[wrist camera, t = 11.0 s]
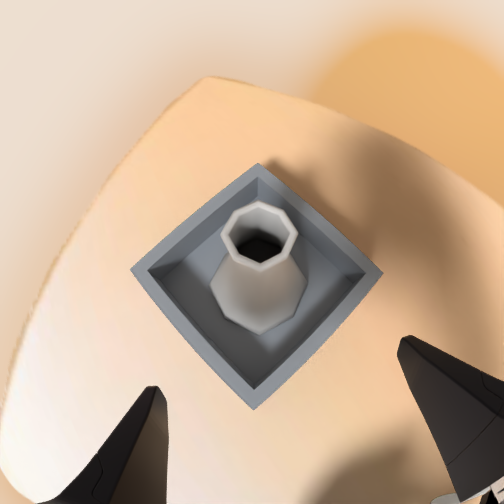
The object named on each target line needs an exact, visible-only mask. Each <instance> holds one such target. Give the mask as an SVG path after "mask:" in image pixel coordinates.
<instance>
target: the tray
mask: <svg viewBox="0 0 504 504" xmlns="http://www.w3.org/2000/svg"><path fill="white" fill-rule="evenodd" d="M256 200H261V201H263V202H266V203H268V204H271V205H273V206H276V207H278V208H281V209H283V210H284V211H285V212H286V214H287V216H288V217H289V219H290V220H291V222H292V223H293V225H294V226H295V228H296V230H297V231H298V235H297V238H296V240H295V242H294V244H293V247H292V249H291V251H290V254H291V255H292V257H293V259H294V260H295V262H296V264H297V265H298V267H299V269H300V270H301V272H302V274H303V275H304V277H305V279H306V280H307V282H308V285H307V288H306V290H305V292H304V295H303V297H302V299H301V302H300V304H299V306H298V308H297V311H296V313H295V315H294V317H293V318H291V319H289V320H288V321H286V322H284V323H282V324H280V325H278V326H277V327H275V328H273V329H271V330H269V331H267V332H265V333H263V334H261V335H258V334H255V333H253V332H251V331H249V330H247V329H245V328H243V327H241V326H238V325H236V324H234V323H232V322H230V321H228V320H226V319H225V318H224V316H223V314H222V312H221V310H220V308H219V306H218V304H217V302H216V300H215V298H214V296H213V294H212V292H211V290H210V288H209V284H210V282H211V280H212V278H213V276H214V274H215V272H216V270H217V269H218V267H219V265H220V263H221V261H222V259H223V257H224V255H225V254H226V253H227V252H228V249H227V247H226V246H225V244H224V242H223V240H222V238H221V235H220V234H221V232H222V230H223V229H224V227H225V225H226V223H227V221H228V220H229V218H230V216H231V214H232V213H233V211H234V210H237V209H239V208H241V207H243V206H245V205H247V204H249V203H252V202H254V201H256ZM130 270H131V272H132V273H133V275H134V276H135V277H136V279H137V280H138V281H139V283H140V284H141V285H142V287H143V288H144V289H145V291H146V292H147V293H148V295H149V296H150V297H151V298H152V300H153V301H154V302H155V304H156V305H157V306H158V307H159V309H160V310H161V311H162V312H163V314H164V315H165V316H166V317H167V318H168V320H169V321H170V322H171V323H172V324H173V326H174V327H175V328H176V329H177V330H178V332H179V333H180V334H181V335H182V336H183V337H184V339H185V340H186V341H187V342H188V343H189V344H190V345H191V347H192V348H193V349H194V350H195V351H196V352H197V353H198V354H199V356H200V357H201V358H202V359H203V360H204V361H205V362H206V363H207V364H208V365H209V366H210V367H211V369H212V370H213V371H214V372H215V373H216V374H217V375H218V376H219V377H220V378H221V379H222V380H223V381H224V382H225V383H226V384H227V385H228V386H229V387H230V388H231V389H232V390H233V391H234V392H235V393H236V394H237V395H238V396H239V397H240V398H241V399H242V400H243V401H244V402H245V403H246V404H247V405H248V406H249V407H250V408H251V409H252V410H255V409H256V408H257V407H258V406H259V405H261V404H262V403H263V402H264V401H265V400H266V399H267V398H268V397H270V396H271V395H272V394H273V393H274V392H275V391H276V390H277V389H278V388H279V387H280V386H282V385H283V384H284V383H285V382H286V381H287V380H288V379H289V378H290V377H291V376H292V375H293V374H294V373H295V372H296V371H297V370H298V369H299V368H300V367H301V366H302V365H303V364H304V363H305V362H306V361H307V360H308V359H309V358H310V357H311V356H312V355H313V354H314V353H315V352H316V351H317V350H318V349H319V348H320V347H321V346H322V345H323V344H324V343H325V341H326V340H327V339H328V338H329V337H330V336H331V335H332V334H333V333H334V332H335V331H336V329H337V328H338V327H339V326H340V325H341V324H342V323H343V322H344V320H345V319H346V318H347V317H348V316H349V315H350V314H351V312H352V311H353V310H354V309H355V308H356V307H357V305H358V304H359V303H360V302H361V301H362V299H363V298H364V297H365V296H366V294H367V293H368V292H369V291H370V290H371V288H372V287H373V286H374V284H375V283H376V282H377V281H378V279H379V278H380V277H381V276H382V274H383V272H382V271H381V270H380V269H379V268H378V267H377V266H376V265H375V264H374V263H373V262H372V261H371V260H370V259H369V258H368V257H366V256H365V255H364V254H363V253H362V252H361V251H360V250H359V249H358V248H357V247H356V246H355V245H354V244H353V243H352V242H351V241H349V240H348V239H347V238H346V237H345V236H344V235H343V234H342V233H341V232H340V231H339V230H337V229H336V228H335V227H334V226H333V225H332V224H331V223H330V222H329V221H327V220H326V219H325V218H324V217H323V216H322V215H321V214H319V213H318V212H317V211H316V210H315V209H314V208H313V207H311V206H310V205H309V204H308V203H307V202H306V201H304V200H303V199H302V198H301V197H300V196H298V195H297V194H296V193H295V192H294V191H292V190H291V189H290V188H289V187H288V186H286V185H285V184H284V183H283V182H282V181H280V180H279V179H278V178H277V177H275V176H274V175H273V174H272V173H270V172H269V171H268V170H267V169H265V168H264V167H263V166H262V165H260V164H259V163H257V164H255V165H254V166H253V167H251V168H250V169H249V170H248V171H246V172H245V173H244V174H242V175H241V176H240V177H238V178H237V179H236V180H234V181H233V182H232V183H231V184H229V185H228V186H227V187H226V188H224V189H223V190H222V191H220V192H219V193H218V194H217V195H215V196H214V197H213V198H212V199H211V200H209V201H208V202H207V203H206V204H204V205H203V206H202V207H201V208H199V209H198V210H197V211H196V212H195V213H193V214H192V215H191V216H190V217H189V218H187V219H186V220H185V221H184V222H183V223H182V224H180V225H179V226H178V227H177V228H176V229H175V230H173V231H172V232H171V233H170V234H169V235H168V236H166V237H165V238H164V239H163V240H162V241H161V242H160V243H158V244H157V245H156V246H155V247H154V248H153V249H152V250H151V251H149V252H148V253H147V254H146V255H145V256H144V257H143V258H142V259H141V260H140V261H138V262H137V263H136V264H135V265H134V266H133V267H132V268H131V269H130Z"/></svg>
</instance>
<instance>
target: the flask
mask: <svg viewBox="0 0 504 504" xmlns="http://www.w3.org/2000/svg"><path fill="white" fill-rule="evenodd" d="M220 235H221V238H222V240H223V242H224V244H225V246H226V247H227V249H228V252H227V253H226V254H225V255H224V257H223V259H222V261H221V263H220V265H219V267H218V269H217V270H216V272H215V274H214V276H213V278H212V280H211V282H210V284H209V288H210V290H211V292H212V294H213V296H214V298H215V300H216V302H217V304H218V306H219V308H220V310H221V312H222V314H223V316H224V318H225V319H226V320H228V321H230V322H232V323H234V324H236V325H238V326H241V327H243V328H245V329H247V330H249V331H251V332H253V333H255V334H258V335H261V334H263V333H265V332H267V331H269V330H271V329H273V328H275V327H277V326H278V325H280V324H282V323H284V322H286V321H288V320H289V319H291V318H293V317H294V315H295V313H296V311H297V308H298V306H299V304H300V302H301V299H302V297H303V295H304V292H305V290H306V288H307V285H308V282H307V280H306V279H305V277H304V275H303V274H302V272H301V270H300V269H299V267H298V265H297V264H296V262H295V260H294V259H293V257H292V255H291V254H290V251H291V249H292V247H293V244H294V242H295V240H296V238H297V235H298V231H297V230H296V228H295V226H294V225H293V223H292V222H291V220H290V219H289V217H288V216H287V214H286V212H285V211H284V210H283V209H281V208H278V207H276V206H273V205H271V204H268V203H266V202H263V201H261V200H256V201H254V202H252V203H249V204H247V205H245V206H243V207H241V208H239V209H237V210H234V211H233V213H232V214H231V216H230V218H229V220H228V221H227V223H226V225H225V227H224V229H223V230H222V232H221V234H220Z"/></svg>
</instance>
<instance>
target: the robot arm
mask: <svg viewBox="0 0 504 504" xmlns="http://www.w3.org/2000/svg"><path fill="white" fill-rule="evenodd" d="M397 357H398V360H399V363H400V365H401V368H402V370H403V373H404V375H405V378H406V381H407V383H408V386H409V388H410V390H411V392H412V394H413V396H414V398H415V400H416V402H417V404H418V406H419V408H420V410H421V412H422V414H423V417H424V419H425V421H426V423H427V425H428V427H429V429H430V431H431V433H432V436H433V438H434V440H435V442H436V444H437V447H438V449H439V451H440V454H441V456H442V458H443V461H444V463H445V465H446V468H447V471H448V473H449V475H450V478H451V481H452V483H453V486H454V488H455V491H456V494H457V496H458V499H459V501H460V503H461V502H463V501H465V500H467V499H469V498H470V497H472V496H474V495H476V494H477V493H479V492H481V491H482V490H484V489H485V488H487V487H489V486H490V488H491V489H490V490H489V491H487V492H486V493H485V494H484V495H482V498H481V501H480V504H504V381H502V380H499V379H497V378H495V377H493V376H491V375H489V374H487V373H485V372H483V371H480V370H479V369H477V368H475V367H473V366H471V365H469V364H467V363H465V362H463V361H461V360H459V359H457V358H455V357H453V356H451V355H449V354H448V353H446V352H444V351H442V350H440V349H438V348H436V347H434V346H432V345H430V344H428V343H426V342H424V341H422V340H420V339H418V338H416V337H415V336H412V335H408V336H405V337H403V338H402V339H401V340H400V344H399V348H398V351H397ZM168 445H169V433H168V414H167V401H166V398H165V397H164V395H163V393H162V392H161V390H160V388H159V387H158V386H148V387H146V388H145V389H144V391H143V392H142V393H141V395H140V396H139V397H138V399H137V400H136V401H135V403H134V404H133V405H132V407H131V408H130V409H129V411H128V412H127V413H126V414H125V416H124V417H123V418H122V420H121V421H120V422H119V424H118V425H117V426H116V428H115V429H114V430H113V432H112V433H111V434H110V436H109V437H108V438H107V440H106V441H105V442H104V444H103V445H102V446H101V448H100V449H99V450H98V452H97V453H98V454H97V453H96V454H95V455H94V457H93V458H92V459H91V461H90V462H89V463H88V464H87V466H86V467H85V468H84V469H83V470H82V471H81V473H80V474H79V475H78V476H77V477H76V478H75V479H74V480H73V481H72V482H71V483H70V484H69V485H68V486H67V487H66V488H65V489H64V490H63V491H62V492H61V493H60V494H59V495H58V496H57V497H55V498H54V499H52V500H49V501H46V502H42V503H37V504H166V496H167V464H168Z"/></svg>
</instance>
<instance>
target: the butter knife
mask: <svg viewBox="0 0 504 504" xmlns="http://www.w3.org/2000/svg"><path fill="white" fill-rule="evenodd" d="M490 489H491V488H490V486H489V487H487V488H485V489H484V490H482V491H481V492H479V493H477V494H476V495H474V496H472V497H470V498H469V499H467V500H465V501H468V500H470V499H473V498H475V497H478V496H480V495H483V494H485V493H486V492H487V491H489V490H490ZM465 501H463V502H465ZM463 502H461V503H463ZM430 504H460V501H459V499H458V496H457V494H456V493H452V494H447V495H443V496H439V497H437V498H435V499H433V500H432V501H431V503H430Z"/></svg>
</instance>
